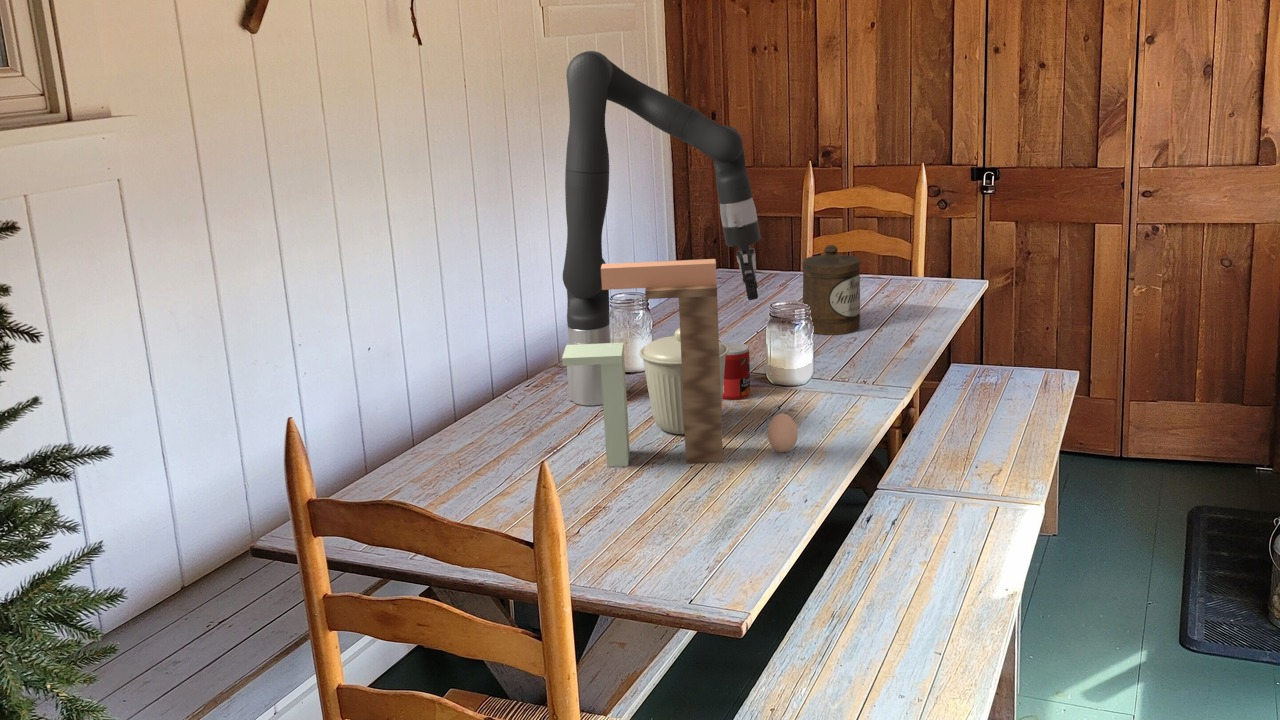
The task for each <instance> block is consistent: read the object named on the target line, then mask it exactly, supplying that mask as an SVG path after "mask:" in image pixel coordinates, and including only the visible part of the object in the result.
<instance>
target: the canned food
mask: <svg viewBox="0 0 1280 720" xmlns="http://www.w3.org/2000/svg"><path fill="white" fill-rule="evenodd" d="M723 343H724V342H723ZM724 344H726V345H727V346H728V348H729V351H728V353H727V355H726V356H725V370H724V383H723V396H722V400H725V401H736V400H742V399H745V398H748V397H749V396H750V393H751V368H750V367H751V366H750V365H751V363H750V362H751V361H750V356H751V355H750V348H749V347H750V346H748V345H747V344H744V343H740V342H725V343H724Z"/></svg>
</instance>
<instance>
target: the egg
mask: <svg viewBox="0 0 1280 720" xmlns="http://www.w3.org/2000/svg"><path fill="white" fill-rule="evenodd" d="M767 428H768V429H767V440H768V443H769V444H770V446H771V447H772V448H773V449H774V450H775V451H777V452H779V453H786V452H789V451H790V450H792V449H793V448H794V447H795V445H796V443H797V441H798V438H799V437H798V436H799V432H798V427H797V424H796V423H795V421H794V419H793V418H792V417H791V416H790V415H789V414H786V413H779V414H777V415H775V416H774V417H773V418H772V419H771V420H770V422H769V425H768V427H767Z"/></svg>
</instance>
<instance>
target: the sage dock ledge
mask: <svg viewBox="0 0 1280 720" xmlns="http://www.w3.org/2000/svg"><path fill="white" fill-rule="evenodd" d="M624 344H625V343H624V342H611V343H601V344H578V345H569V344H566V346H565V347H564V351H563V354H562V357H561V361H562V367H567V366H575V365H599V364H601V379H602V395H603V404H602V408H603V421H604V422H603V423H604V439H605V440H604V441H605V442H604V443H605V453H606V455H605V456H606V467H607V468H609V467H610V468H614V467H615V468H616V467H617V468H619V467H629V462H630V460H629V459H630V454H631V453H630V450H631V449H630V435H629V433H630V431H629V417H628V416H629V414H628V413H629V412H628V397H627V396H628V395H627V384H626V383H627V381H626V379H627V378H626V367H625V366H626V365H625V346H624Z"/></svg>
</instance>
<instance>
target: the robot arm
mask: <svg viewBox="0 0 1280 720" xmlns="http://www.w3.org/2000/svg"><path fill="white" fill-rule="evenodd" d="M565 76H566V83H567V84H566V85H567V94H568V95H567V96H568V108H569V124H568V125H569V126H568V136H567V145H566V154H565V155H566V156H565V174H564V175H565V176H564V180H565V181H564V190H565V191H564V192H565V194H564V195H565V198H564V199H565V216H566V227H567V229H566V230H567V231H566V233H567V235H566V236H567V238H566V248H565V256H564V257H565V258H564V264H563V270H562V282H563V285H564V288H565V289H566V297H567V299H566V300H567V308H566V309H567V310H566V320H567V321H566V323H567V335H568V345H578V344H601V343H612V340H611V327H610V322H611V321H610V290H602V280H601V266H602V264H607V263H606V260H605V259H604V258H603V248H602V247H603V245H602V243H603V241H602V240H603V238H602V237H603V229H604V222H605V219H606V212H607V205H608V199H609V190H610V187H609V186H610V155H609V147H608V139H607V138H608V137H607V131H606V111H607V102H608V101H610V102H612V103H614V104H618V105H620V106H621V107H623V108H625V109H627V110H628V111H630V112H633V113H634V114H636V115H637V116H639V118H641V119H643V120H645V121H646V122H648V123H649V124H650V125H652V126H653V127H656V128H657V129H659V130H660V131H662V132H664V133H666V134H667V135H670V136H672V137H673V138H676V139H677V140H679V141H681V142H684V143H686V144H688V145H690V146H692V147H693V148H695V149H696V150H698V151H700V152H701V153H703V154H704V155H706V156H708V157H709V158H711V159H712V162H713V167H714V168H713V169H714V172H715V178H716V179H715V180H716V181H715V182H716V183H715V184H716V191H717V192H716V193H717V196H718V202H719V210H720V211H719V212H720V213H719V214H720V220H721V224H722V230H723V236H724V240H725V245H726V246H727V247H732V248H735V247H737V248H738V251H736V252H735V253H736V254H735V255H736V259H737V260H736V261H737V263H738V266H739V272H740V273H739V274H740V275H742V282H743V283H744V286H745V291H746V296H747V300H748V301H753V300H757V299H758V298H759V295H758V294H759V292H758V287H759V286H758V283H757V276H756V272H757V267H756V266H757V261H756V252H755V251H756V249H755V248H752V244H756V243H758V242H759V241H760V240H761V239H762V237H761V232H760V231H761V230H760V227H759V226H760V225H759V220H758V219H759V218H758V215H757V209H756V206H755V202H754V198H753V194H752V193H753V192H752V187H751V183H750V178H749V175H748V173H747V168H746V167H747V166H746V159H745V158H746V157H745V150H744V143H743V139H742V135H741V132H739V131H738V130H737V129H736V128H734V127H732V126H731V125H730V126H729V125H722V124H720V123H718V122H716V121H715V120H712V119H710V118H708V117H706V116H705V115H704V114H703V113H702V112H700V111H699V110H697V109H696V108H694V107H692V106H690V105H688V104H686V103H684V102H682V101H680V100H678V99H676V98H674V97H672V96H670V95H668V94H666V93H663V92H662V91H659V90H657V89H656V88H653V87H652V86H649V85H647V84H645V83H643V82H642V81H641V80H638V79H636V78H635V77H633V76H632V75H630V74H629V73H627V72H625V71H624V70H623V69H621V68H620V67H618V66H617V65H616V64H615V63H613V61H611V60H610V59H608V58H607V57H606V55H604V54H603V53H601V52H599V51H596V50H595V51H594V50H587V51H584V52H580V53H579V54H576V55H575V56H574V57H573V58H572V59H571V61H569V64H568V65H567V69H566V75H565ZM566 374H567V375H566V377H567V390H568V400H569V401H571V402H573V403H574V404H576V405H579V406H599V405H600V406H601V405H603V395H602V379H601V364H599V365H575V366H566Z"/></svg>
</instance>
